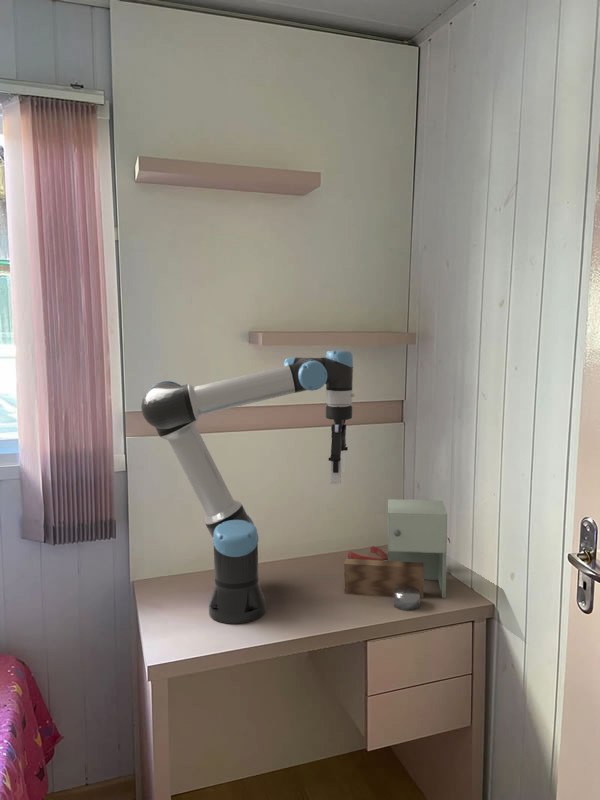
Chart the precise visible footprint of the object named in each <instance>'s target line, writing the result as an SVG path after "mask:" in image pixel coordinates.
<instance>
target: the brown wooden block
mask: <svg viewBox="0 0 600 800" xmlns="http://www.w3.org/2000/svg"><path fill="white" fill-rule="evenodd" d="M343 563H344V567H343V568H344V573H343V574H344V595H345V594H346V595H359V596H360V595H362V596H363V595H364V596H377V597H393V598H394V589H395V588H397V587H401V586H409V587H414V588H417V589H418V590H419V591H420V599H424V579H423V577H424V565H423V563H420V562H400V561H381V560H362V559H349V558H345V561H344V562H343Z"/></svg>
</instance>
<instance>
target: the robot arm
mask: <svg viewBox="0 0 600 800" xmlns="http://www.w3.org/2000/svg"><path fill="white" fill-rule="evenodd" d="M353 362H354V361H353V353H352V352H351V351H349V350H337V349H336V350H328V351H326V355H325V357H324V356H323V357H297V356H296V357H288V358H286V359H285V360H284V362H283V366H280V367H274V368H271V369H266V370H262V371H261V370H260V371H257V372H254V373H253V372H252V373H248V374H245V375H240V376H235V377H231V378H227V379H226V378H225V379H223V380H218V381H213V382H209V383H205V384H201V385H197V386H196V385H195V386H193V385H191V384H189V383H187V384H182V385H181V384H180V383H178V382H176V381H172V380H163V381H160V382H157V383H156V384H154V385H152V386H151V387H150V388H149V389H148V391H147V392H146V393H145V394H144V396H143V398H142V401H141V414H142V416H143V419H144V420H145V421H146V422H147V423H148V424H149V425H151V427H154V429H156V431H157V433H158V435H159V437H160V438H161V439H164V440H167V441H168V443H169V445H170V447H171V449H172V450H173V453H174V454H175V456H176V458H177V460H178V463H179V464H180V466H181V468H182V470H183V472H184V474H185V475H186V477H187V480H188V482H189V483H190V486H191V487H192V489H193V491H194V493H195V495H196V497H197V499H198V501H199V503H200V505H201V506H202V508H203V511H204V512H205V514H206V515H205V517H204V518H205V519H204V520H203V523H204V524H205V526H206V528H207V530H208V532H209V534H210V536H211V537H212V545H213V568H214V586H213V590H212V593H211V596H210V601H209V603H208V614H209V617H210V618H212V620H214V621H216V622H220V623H225V624H244V623H249V622H253V621H256V620H258V619H259V618H261V617H262V616H263V615H264V614H265V613H266V599H265V597H264V594H263V591H262V587H261V585H260V582H259V545H258V543H259V533H258V529H257V527H256V526H255V524H254V522H253V520H252V518H251V517H250V516H249V514H247V512H246V510H245V507H244V506H243V504H242V502H241V501H238V500H235V499H234V498H233V496H232V495H231V492H230V490H229V488H228V486H227V485H226V483H225V480H224V478H223V475H222V474H221V472H220V471H219V469H218V466H217V465H216V463H215V461H214V459H213V457H212V455H211V452H210V450H209V449H208V447H207V445H206V442H205V441H204V439H203V437H202V435H201V433H200V432H199V429H198V427H197V423H198V421H199V419H200V417H201V416H204V415H208V414H211V413H217V412H220V411H225V410H229V409H233V408H236V407H237V408H238V407H241V406H247V405H250V404H253V403H258V402H261V401H266V400H269V399H274V398H275V399H276V398H279V397H284V396H287V395H292V394H295V393H300V392H305V391H310V392H311V391H317V390H320V389H322V388H323V387H324V386H325V403H326V404H327V405H326V406H325V417H326V419H327V420H333V424H331V429H330V430H331V446H330V447H331V448H330V457H328V461H330V484H332V485H341V484H342V474H345V473H346V451H348V446H347V444H346V443H347V442H346V441H347V440H346V434H347V433H346V431H347V424H346V420H351V419H352V418H353V406H352V404H353V398H354V397H355V393H353V378H354V377H353V372H354V363H353Z"/></svg>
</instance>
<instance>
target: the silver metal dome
mask: <svg viewBox="0 0 600 800" xmlns="http://www.w3.org/2000/svg"><path fill="white" fill-rule="evenodd" d="M393 607H394V608H396V609H397V610H401V611H405V612H411V611H416V610H418V609H420V607H421V598H420V591H419V590H418V589H417V588H414V587H409V586H401V587H397V588H395V589H394V597H393Z"/></svg>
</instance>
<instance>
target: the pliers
mask: <svg viewBox="0 0 600 800" xmlns="http://www.w3.org/2000/svg"><path fill="white" fill-rule="evenodd" d="M370 552H371V553H374V554H375V555H377V556H378V557H379V558H377V557H371V556H365V555H360V554H357V553H355V552H353V551H350V552H348V555H347V558H348V559H362V560H381V561H388V556H386V555H385V552H384V551H383V550H382V549H381V548H379V547H376V546H370Z"/></svg>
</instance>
